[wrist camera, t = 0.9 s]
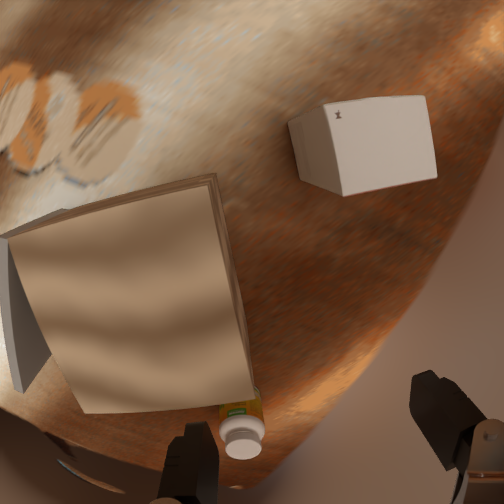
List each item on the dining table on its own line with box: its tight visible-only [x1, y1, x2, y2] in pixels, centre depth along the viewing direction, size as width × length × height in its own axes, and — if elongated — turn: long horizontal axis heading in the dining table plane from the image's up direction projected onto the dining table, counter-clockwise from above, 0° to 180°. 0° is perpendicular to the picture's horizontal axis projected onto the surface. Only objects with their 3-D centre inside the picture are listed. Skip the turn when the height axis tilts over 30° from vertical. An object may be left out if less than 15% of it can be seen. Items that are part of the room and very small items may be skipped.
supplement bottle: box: [219, 386, 265, 459], centre depth 36 cm, size 5×5×10 cm
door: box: [0, 209, 68, 394], centre depth 28 cm, size 16×2×12 cm, turn 166°
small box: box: [287, 95, 437, 197], centre depth 26 cm, size 8×6×13 cm
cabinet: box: [7, 173, 256, 413], centre depth 28 cm, size 17×16×13 cm
